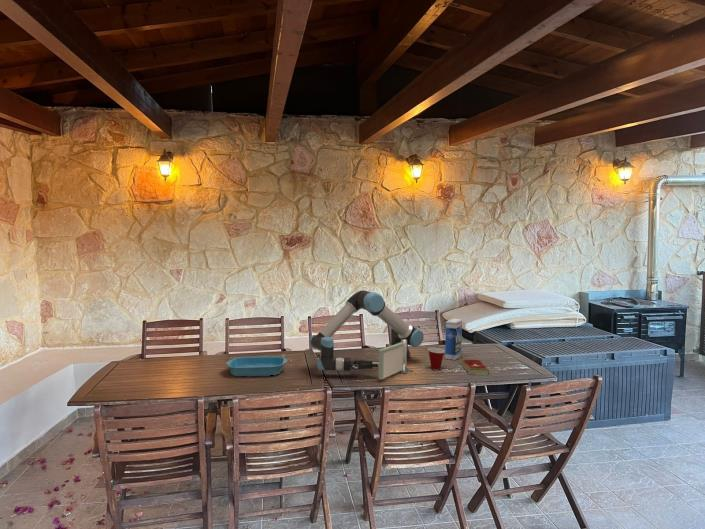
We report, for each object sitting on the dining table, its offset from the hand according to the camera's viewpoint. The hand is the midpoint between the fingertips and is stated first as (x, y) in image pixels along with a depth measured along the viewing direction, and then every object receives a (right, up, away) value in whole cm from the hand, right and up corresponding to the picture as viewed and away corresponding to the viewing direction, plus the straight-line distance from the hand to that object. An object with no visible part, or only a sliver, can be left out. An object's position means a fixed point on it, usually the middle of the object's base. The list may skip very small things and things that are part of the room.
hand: (383, 365), depth 277 cm
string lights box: (+51, -5, +45) cm, 68 cm away
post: (+13, -7, +13) cm, 20 cm away
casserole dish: (-76, -7, +10) cm, 77 cm away
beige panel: (+5, -6, +2) cm, 8 cm away
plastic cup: (+35, -6, +20) cm, 40 cm away
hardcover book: (+58, -7, +18) cm, 61 cm away
